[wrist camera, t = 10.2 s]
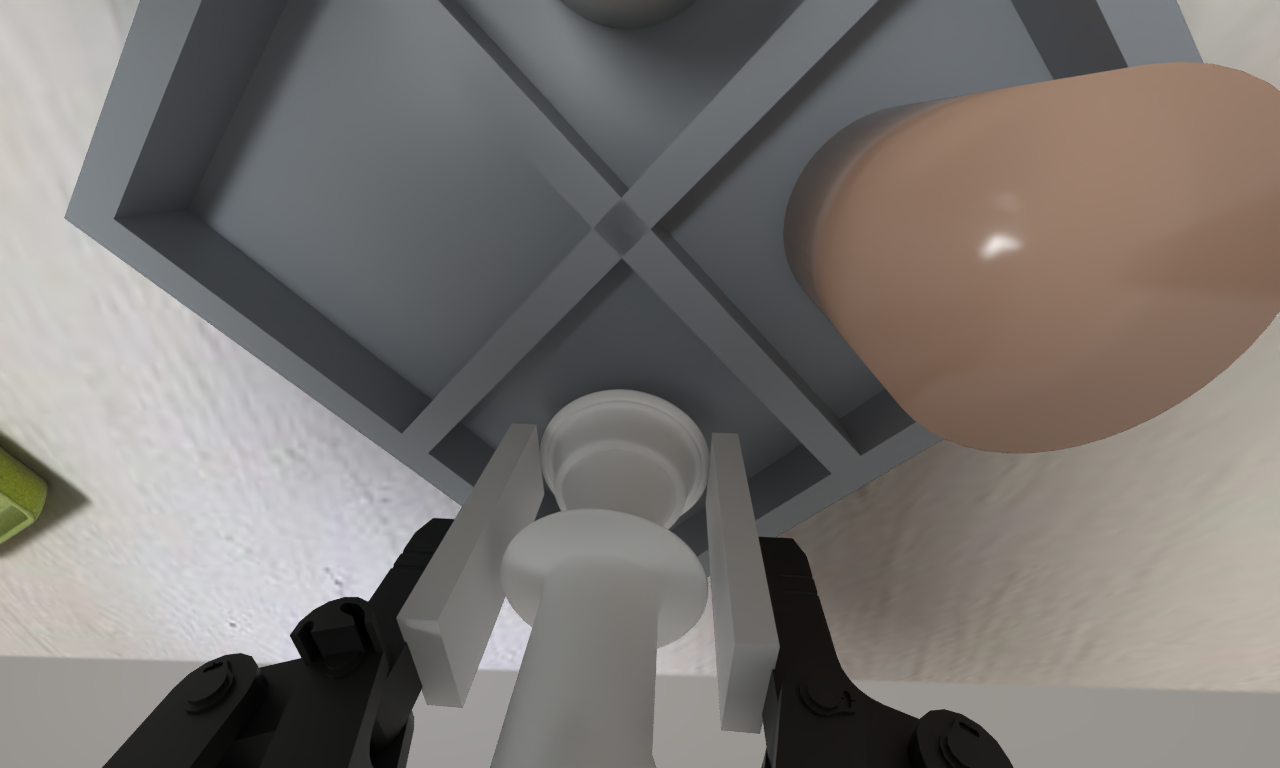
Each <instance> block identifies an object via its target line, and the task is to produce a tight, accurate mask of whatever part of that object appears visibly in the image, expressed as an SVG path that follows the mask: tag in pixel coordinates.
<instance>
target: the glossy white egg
mask: <svg viewBox="0 0 1280 768" xmlns="http://www.w3.org/2000/svg"><path fill="white" fill-rule="evenodd" d="M560 1H561V2H562V3H564V4H565V5H566V6H567V7H568V8H570V9H571V10H572V11H574V12H576V13H577V14H579V15H581V16H582V17H584V18H586V19H588V20H590V21H593V22H595V23H598V24H601V25H605V26H609V27H613V28H624V29H633V28H644V27H648V26H652V25H656V24H659V23H662V22H664V21H666V20H669V19H671V18H673V17H675V16H677V15H678V14H680V13H681V12H683V11H685V10H686V9H688V8H689V7H690V6H691V5H693V4H694V3H695V2H696V1H697V0H560Z"/></svg>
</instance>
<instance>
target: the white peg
mask: <svg viewBox="0 0 1280 768" xmlns="http://www.w3.org/2000/svg"><path fill="white" fill-rule="evenodd" d="M540 460H541V469H542V472H543V475H544V478H545V480H546V482H547V484H548V486H549V488H550V489H551V491H552V492H553V494H554V495H555V497H556V501H557V503H558V506H559V508H560V510H561V512H557V513H553V514H550V515H547V516H545V517H543V518H540V519H538V520H536V521H534V522H533V523H531V524H529V525H528V526H526V527H525V528H524V529H522V530H521V531H520V532H519V533H518V534H517V535H516V536H515V537H514V538H513V539H512V541H511V542H510V544H509V545H508V547H507V548H506V550H505V553H504V555H503V558H502V562H501V570H500V575H501V583H502V587H503V590H504V593H505V595H506V597H507V599H508V601H509V603H510V604H511V606H512V607H513V609H514V610H515V611H516V613H517V614H518V615H519V616H520V617H521V618H522V619H523V620H524V621H525V622H526V623H527V624H529V625H530V626H531V627H532V631H531V634H530V637H529V641H528V644H527V647H526V651H525V654H524V657H523V660H522V664H521V667H520V670H519V674H518V677H517V680H516V684H515V687H514V690H513V694H512V697H511V700H510V703H509V707H508V710H507V714H506V717H505V720H504V723H503V726H502V730H501V733H500V737H499V740H498V744H497V746H496V750H495V753H494V756H493V759H492V763H491V766H490V768H656V765H655V762H654V759H653V756H652V743H653V720H654V699H655V697H654V696H655V677H656V655H657V648H660V647H663V646H665V645H667V644H670V643H672V642H674V641H675V640H677V639H679V638H680V637H682V636H683V635H685V634H686V633H687V632H688V631H689V630H690V629H691V628H692V627H693V626H694V625H695V624H696V623H697V621H698V620H699V619H700V617H701V615H702V613H703V611H704V609H705V606H706V603H707V598H708V583H707V578H706V574H705V571H704V569H703V566H702V564H701V562H700V561H699V559H698V557H697V556H696V555H695V553H694V552H693V551H692V549H691V548H690V547H689V546H688V545H687V544H686V543H685V542H684V541H683V540H682V539H680V538H679V537H678V536H677V535H675V534H674V533H673V532H671V531H670V530H668V529H669V528H670V527H671V526H672V525H673V524H674V523H675V522H676V521H677V520H678V518H679V517H680V516H681V515H683V514H684V513H685V512H687V511H688V510H689V509H690V508H691V507H692V506H693V505H694V504H695V503H696V502H697V501H698V500H699V498H700V497H701V495H702V494H703V492H704V490H705V488H706V485H707V483H708V472H709V461H710V453H709V449H708V446H707V443H706V440H705V438H704V436H703V434H702V432H701V431H700V429H699V428H698V426H697V425H696V424H695V423H694V421H693V420H692V419H691V418H690V417H689V416H688V415H687V414H686V413H685V412H683V411H682V410H681V409H679V408H678V407H677V406H675V405H674V404H672V403H670V402H668V401H666V400H664V399H662V398H660V397H658V396H655V395H652V394H649V393H645V392H641V391H635V390H626V389H613V390H604V391H598V392H594V393H591V394H588V395H585V396H582V397H580V398H578V399H576V400H574V401H572V402H571V403H569V404H568V405H566V406H565V407H564V408H562V409H561V410H560V411H559V412H558V413H557V414H556V415H555V416H554V417H553V419H552V420H551V421H550V423H549V424H548V426H547V428H546V430H545V432H544V434H543V437H542V441H541V445H540Z"/></svg>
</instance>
